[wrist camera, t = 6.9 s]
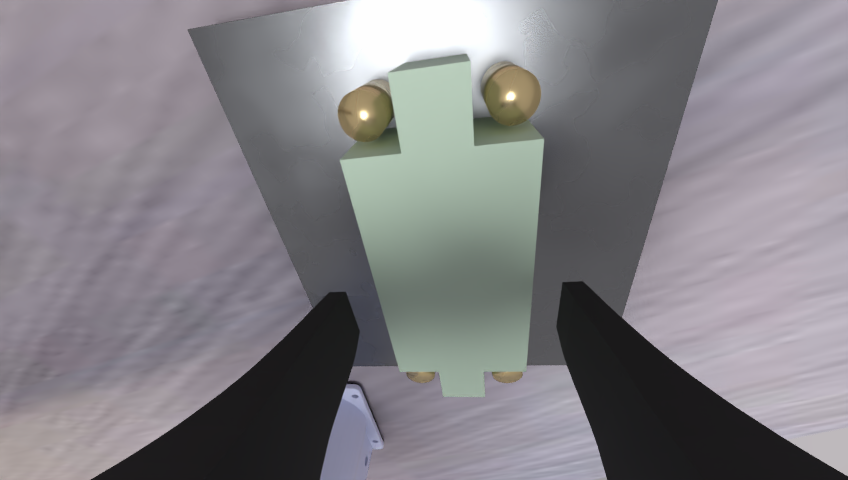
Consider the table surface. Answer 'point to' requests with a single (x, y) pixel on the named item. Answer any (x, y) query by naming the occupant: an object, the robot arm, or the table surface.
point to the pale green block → (449, 226)
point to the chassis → (491, 96)
